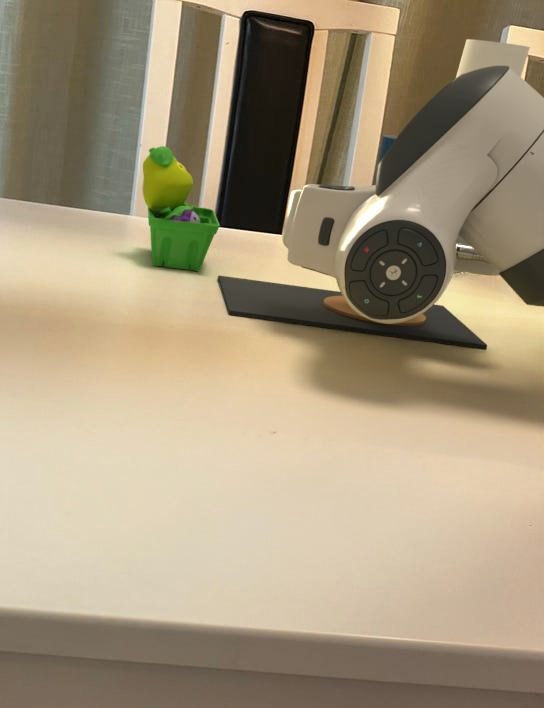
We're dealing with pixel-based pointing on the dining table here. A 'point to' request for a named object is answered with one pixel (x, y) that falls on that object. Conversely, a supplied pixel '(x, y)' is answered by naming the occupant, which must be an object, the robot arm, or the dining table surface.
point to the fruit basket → (175, 214)
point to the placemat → (336, 312)
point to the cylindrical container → (492, 57)
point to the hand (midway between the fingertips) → (398, 221)
